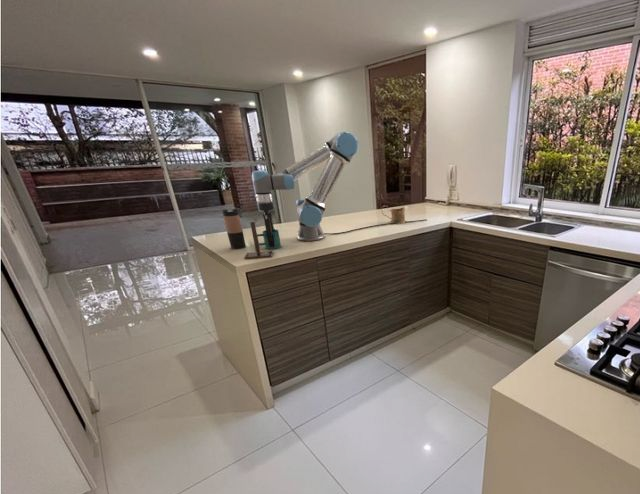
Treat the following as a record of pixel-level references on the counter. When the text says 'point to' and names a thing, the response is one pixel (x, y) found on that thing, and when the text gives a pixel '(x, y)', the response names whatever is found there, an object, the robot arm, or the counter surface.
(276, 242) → the teal mug
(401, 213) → the mug
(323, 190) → the robot arm
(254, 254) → the mug stand
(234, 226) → the travel mug
